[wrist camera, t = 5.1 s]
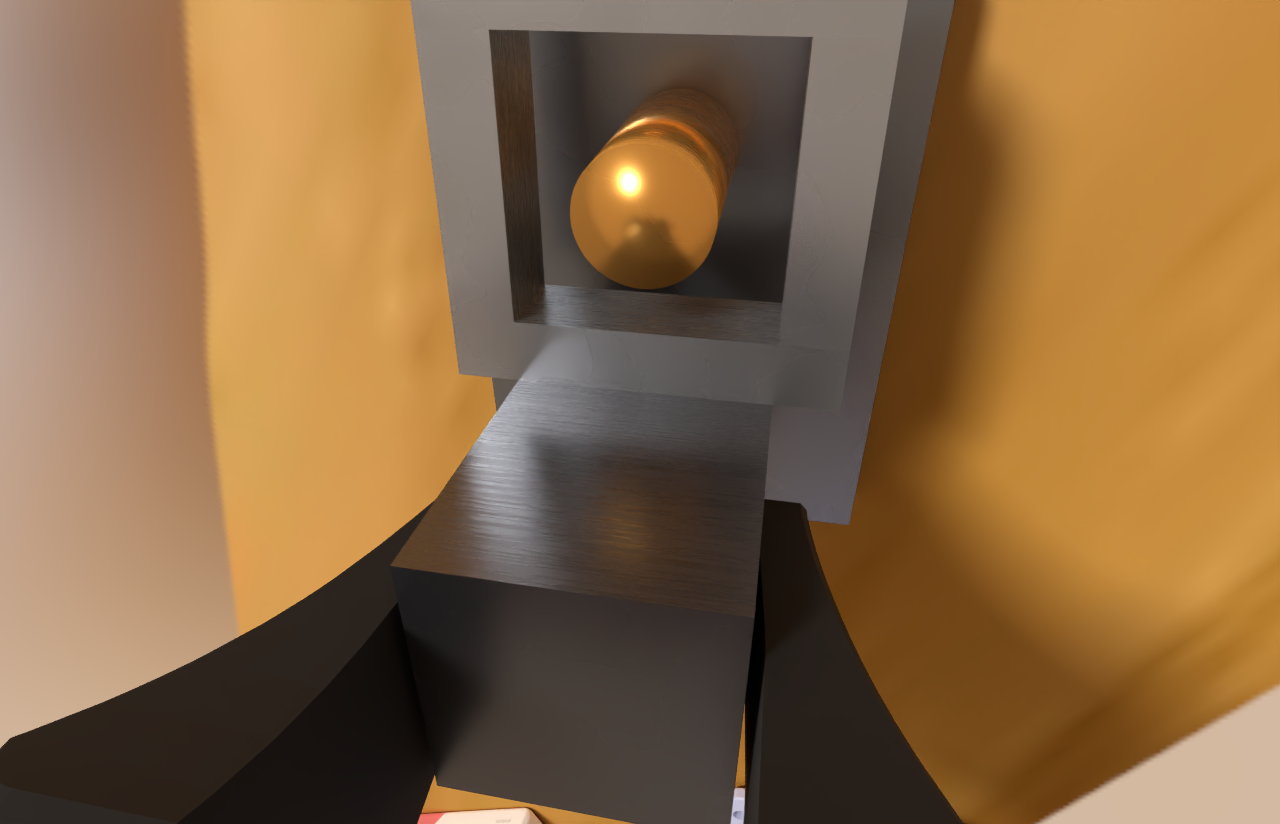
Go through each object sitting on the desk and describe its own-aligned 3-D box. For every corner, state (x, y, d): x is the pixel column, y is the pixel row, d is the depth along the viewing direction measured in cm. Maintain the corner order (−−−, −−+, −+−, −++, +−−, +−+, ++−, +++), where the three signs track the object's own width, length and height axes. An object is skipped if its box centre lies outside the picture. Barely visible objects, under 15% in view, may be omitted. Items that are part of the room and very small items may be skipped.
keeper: (847, 496, 18) (855, 652, 14) (519, 458, 19) (448, 591, 15) (955, -58, 12) (1019, -36, 8) (457, -60, 13) (315, -42, 9)
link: (808, 547, 15) (807, 856, 10) (511, 509, 16) (369, 772, 11) (902, -61, 10) (1006, -82, 5) (453, -62, 11) (126, -83, 5)
